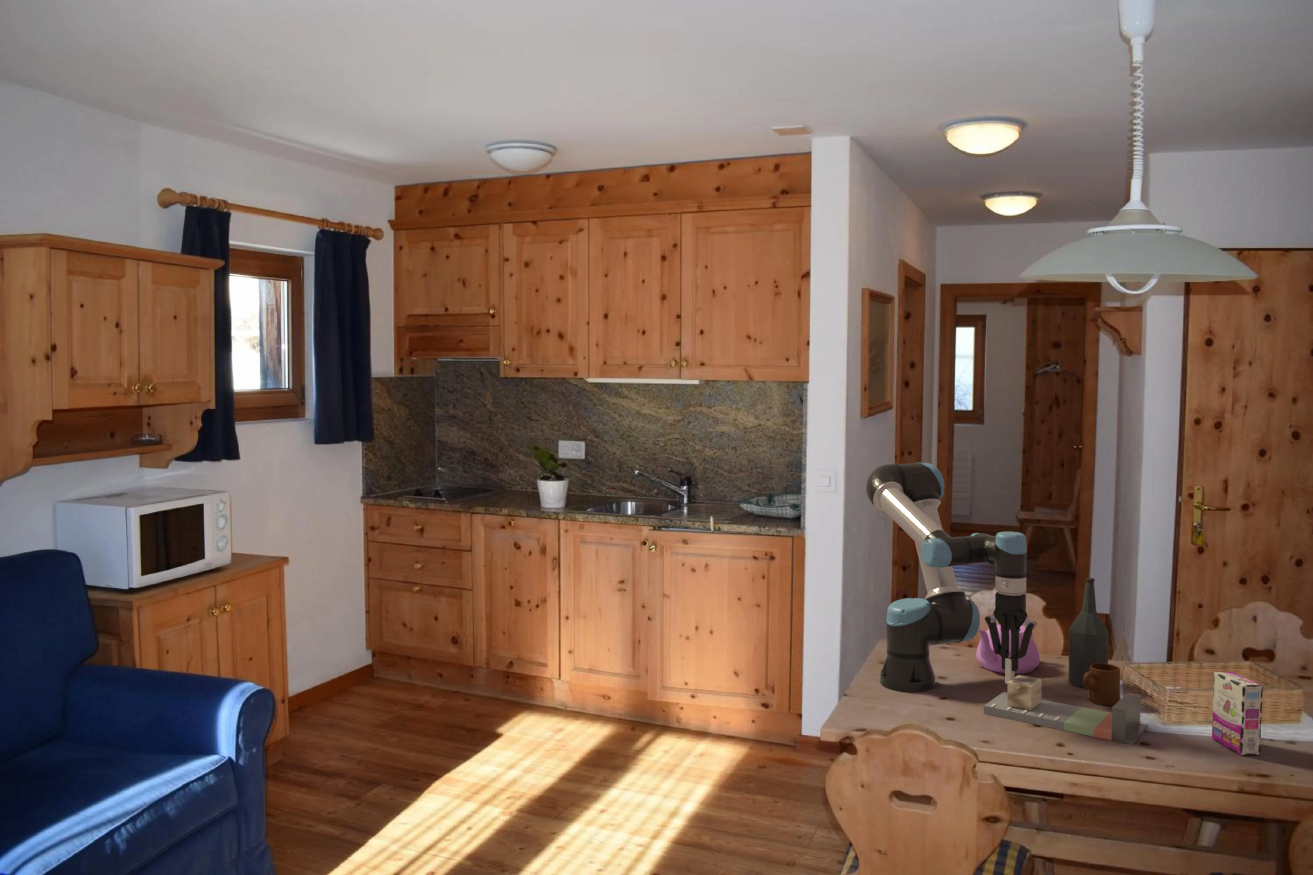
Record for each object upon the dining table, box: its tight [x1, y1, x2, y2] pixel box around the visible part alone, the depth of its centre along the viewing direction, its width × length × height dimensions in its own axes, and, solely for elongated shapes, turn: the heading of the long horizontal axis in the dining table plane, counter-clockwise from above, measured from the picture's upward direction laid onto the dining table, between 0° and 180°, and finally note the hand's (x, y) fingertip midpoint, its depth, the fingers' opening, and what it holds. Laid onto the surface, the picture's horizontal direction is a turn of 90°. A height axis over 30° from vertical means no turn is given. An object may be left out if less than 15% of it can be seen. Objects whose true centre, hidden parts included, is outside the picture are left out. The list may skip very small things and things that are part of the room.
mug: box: [1083, 663, 1121, 707], centre depth 270 cm, size 12×8×9 cm, turn 120°
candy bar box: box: [1211, 671, 1264, 756], centre depth 238 cm, size 11×5×16 cm, turn 5°
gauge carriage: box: [1006, 674, 1043, 710], centre depth 262 cm, size 6×10×6 cm, turn 141°
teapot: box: [975, 624, 1041, 675], centre depth 302 cm, size 25×18×14 cm
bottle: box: [1068, 577, 1110, 690], centre depth 285 cm, size 10×10×30 cm
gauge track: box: [983, 691, 1112, 741], centre depth 259 cm, size 31×14×2 cm, turn 51°
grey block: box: [1110, 692, 1149, 746], centre depth 248 cm, size 5×14×8 cm, turn 141°
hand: (1009, 682), depth 265 cm, fingers closed
